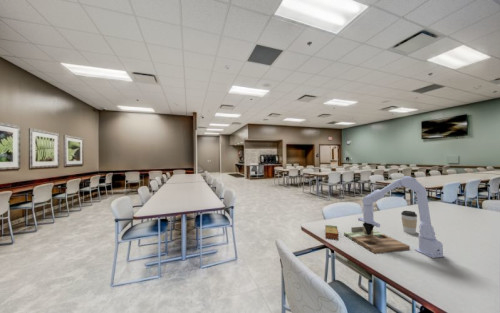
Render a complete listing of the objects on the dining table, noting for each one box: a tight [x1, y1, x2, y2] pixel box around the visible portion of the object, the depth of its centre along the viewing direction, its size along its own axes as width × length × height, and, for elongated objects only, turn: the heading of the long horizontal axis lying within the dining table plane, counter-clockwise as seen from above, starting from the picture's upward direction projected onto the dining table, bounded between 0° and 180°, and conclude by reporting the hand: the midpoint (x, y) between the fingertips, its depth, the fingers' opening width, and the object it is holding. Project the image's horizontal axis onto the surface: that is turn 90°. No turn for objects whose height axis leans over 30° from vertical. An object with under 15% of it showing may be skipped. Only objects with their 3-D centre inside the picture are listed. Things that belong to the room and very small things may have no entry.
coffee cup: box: [400, 210, 418, 235], centre depth 135 cm, size 9×9×15 cm
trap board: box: [343, 225, 411, 254], centre depth 120 cm, size 26×24×5 cm
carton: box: [324, 224, 339, 240], centre depth 133 cm, size 8×16×4 cm, turn 158°
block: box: [362, 225, 374, 235], centre depth 128 cm, size 5×5×5 cm
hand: (368, 234), depth 124 cm, fingers closed
